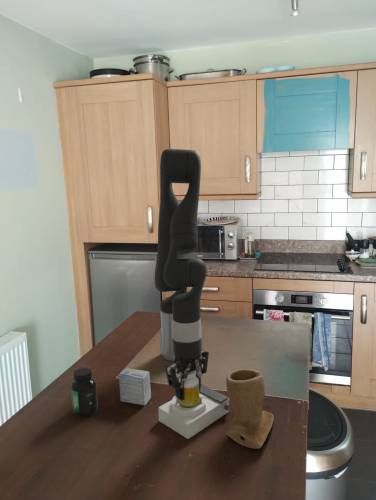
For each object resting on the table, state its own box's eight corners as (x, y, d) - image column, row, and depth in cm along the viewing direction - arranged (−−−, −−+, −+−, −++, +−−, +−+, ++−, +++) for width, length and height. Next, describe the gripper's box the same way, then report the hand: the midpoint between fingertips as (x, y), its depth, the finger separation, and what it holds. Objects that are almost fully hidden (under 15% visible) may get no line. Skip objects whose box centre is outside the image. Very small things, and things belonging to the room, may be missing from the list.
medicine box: (151, 398, 124) (150, 371, 122) (145, 406, 120) (143, 378, 118) (127, 393, 127) (125, 367, 125) (120, 402, 123) (118, 374, 121)
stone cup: (235, 408, 118) (235, 359, 115) (278, 419, 113) (279, 367, 109) (214, 441, 105) (213, 386, 102) (260, 455, 100) (261, 397, 96)
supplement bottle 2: (197, 411, 110) (196, 377, 108) (177, 409, 111) (175, 375, 109) (200, 399, 115) (200, 366, 113) (181, 398, 116) (180, 365, 114)
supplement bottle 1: (76, 421, 114) (72, 380, 112) (70, 408, 120) (67, 369, 118) (101, 413, 117) (98, 373, 115) (94, 401, 123) (91, 363, 121)
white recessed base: (191, 441, 105) (190, 421, 104) (159, 420, 113) (158, 402, 112) (232, 413, 116) (232, 395, 115) (200, 396, 124) (199, 379, 123)
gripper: (196, 323, 116) (197, 379, 120) (156, 339, 106) (158, 400, 110) (216, 330, 111) (217, 389, 115) (176, 348, 101) (178, 412, 105)
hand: (188, 394), depth 112 cm, fingers closed on supplement bottle 2, 5 cm apart
